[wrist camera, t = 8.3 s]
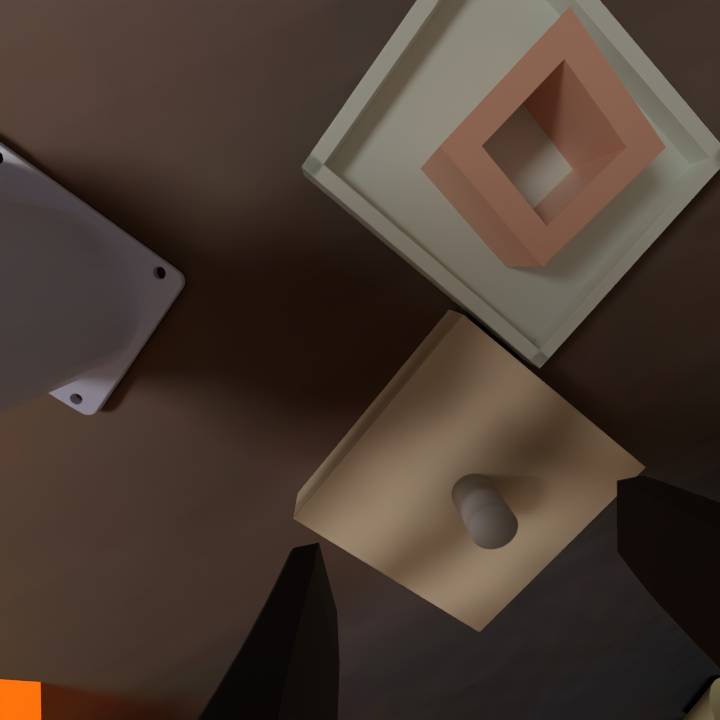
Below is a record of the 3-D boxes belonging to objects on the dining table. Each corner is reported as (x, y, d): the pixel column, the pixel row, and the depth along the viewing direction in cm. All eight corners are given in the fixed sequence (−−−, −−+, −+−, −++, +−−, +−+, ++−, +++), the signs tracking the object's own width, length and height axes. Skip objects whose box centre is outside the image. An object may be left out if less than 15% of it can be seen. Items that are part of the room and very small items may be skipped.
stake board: (297, 493, 19) (286, 559, 15) (449, 309, 17) (487, 323, 13) (466, 599, 22) (499, 683, 17) (615, 447, 20) (694, 498, 15)
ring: (505, 266, 16) (542, 267, 14) (420, 168, 15) (439, 145, 12) (604, 169, 16) (665, 147, 13) (523, 57, 15) (570, 6, 12)
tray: (304, 176, 16) (301, 167, 14) (482, -79, 14) (499, -120, 12) (523, 360, 18) (539, 368, 17) (696, 165, 17) (730, 156, 15)
